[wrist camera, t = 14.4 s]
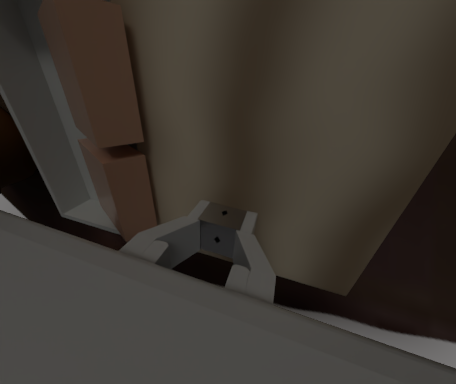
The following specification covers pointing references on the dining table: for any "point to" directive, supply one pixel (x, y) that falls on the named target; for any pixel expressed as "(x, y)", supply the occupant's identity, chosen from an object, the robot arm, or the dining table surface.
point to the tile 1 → (93, 68)
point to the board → (295, 118)
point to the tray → (45, 114)
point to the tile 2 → (121, 186)
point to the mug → (13, 153)
